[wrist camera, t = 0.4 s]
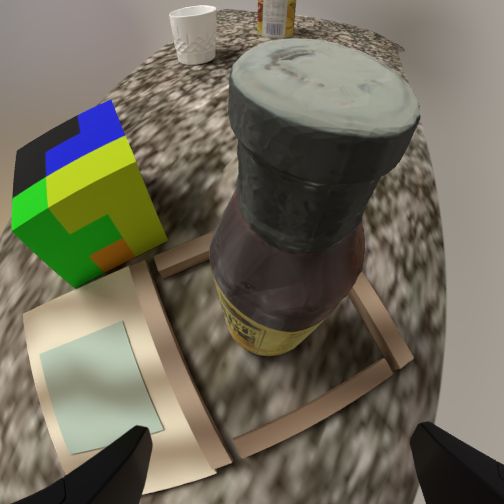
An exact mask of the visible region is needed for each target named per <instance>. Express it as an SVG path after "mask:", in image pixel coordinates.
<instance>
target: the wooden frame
mask: <svg viewBox="0 0 504 504" xmlns="http://www.w3.org/2000/svg"><path fill="white" fill-rule="evenodd" d="M213 233H214V231H213V232H211V233H208V234H206V235H203V236H201V237H198V238H196V239H193V240H191V241H189V242H186V243H184V244H181V245H179V246H176V247H174V248H172V249H169V250H167V251H164V252H162V253H160V254H157V255H155V256H153V257H154V260H155V263H156V266H157V269H158V272H159V273H160V275H161V276H162V278H163V279H164V278H166V277H169V276H171V275H173V274H176V273H178V272H181V271H183V270H185V269H188V268H190V267H193V266H195V265H197V264H200V263H202V262H205V261H207V260H209V248H210V243H211V238H212V236H213ZM348 296H349V298H350V299H351V301H352V303H353V304H354V306H355V308H356V309H357V311H358V313H359V314H360V316H361V318H362V319H363V321H364V323H365V324H366V326H367V328H368V329H369V331H370V333H371V335H372V336H373V338H374V340H375V341H376V343H377V345H378V347H379V348H380V350H381V352H382V354H383V356H384V357H385V358H383V359H380V360H378V361H376V362H374V363H373V364H371V365H370V366H368V367H367V368H365V369H364V370H362V371H361V372H359V373H358V374H356V375H354V376H353V377H351V378H350V379H348V380H346V381H345V382H343V383H342V384H340V385H338V386H337V387H335V388H333V389H332V390H330V391H328V392H326V393H325V394H323V395H321V396H319V397H318V398H316V399H314V400H312V401H310V402H308V403H307V404H305V405H303V406H301V407H299V408H297V409H295V410H293V411H291V412H289V413H287V414H285V415H283V416H281V417H279V418H277V419H275V420H273V421H271V422H269V423H267V424H265V425H263V426H260V427H258V428H256V429H254V430H251V431H249V432H247V433H244V434H242V435H240V436H237V437H235V438H233V443H234V445H235V446H236V448H237V450H238V452H239V454H240V456H241V457H242V459H243V458H245V457H248V456H250V455H252V454H255V453H257V452H259V451H262V450H264V449H266V448H268V447H270V446H273V445H275V444H277V443H279V442H281V441H283V440H285V439H287V438H289V437H291V436H293V435H295V434H297V433H299V432H301V431H303V430H305V429H307V428H309V427H310V426H312V425H314V424H316V423H318V422H320V421H321V420H323V419H325V418H327V417H328V416H330V415H332V414H333V413H335V412H337V411H338V410H340V409H342V408H343V407H345V406H347V405H348V404H350V403H351V402H353V401H355V400H356V399H358V398H359V397H361V396H362V395H364V394H365V393H367V392H368V391H370V390H371V389H373V388H374V387H376V386H377V385H379V384H380V383H381V382H383V381H384V380H386V379H387V378H388V377H390V376H391V375H393V372H392V371H394V370H397V369H401V368H402V367H403V366H405V365H406V364H407V363H408V362H410V361H411V360H412V359H413V358H414V357H413V356H412V354H411V352H410V350H409V348H408V347H407V345H406V343H405V341H404V340H403V338H402V336H401V334H400V333H399V331H398V329H397V327H396V326H395V324H394V322H393V321H392V319H391V317H390V316H389V314H388V312H387V311H386V309H385V307H384V306H383V304H382V302H381V301H380V299H379V298H378V296H377V294H376V293H375V291H374V290H373V288H372V286H371V285H370V283H369V282H368V280H367V279H366V277H365V275H364V274H363V272H361V273H360V275H359V276H358V278H357V280H356V283H355V284H354V285H353V287H352V289H351V290H350V291H349V292H348ZM23 321H24V329H25V335H26V342H27V348H28V353H29V359H30V364H31V368H32V373H33V377H34V382H35V386H36V390H37V394H38V397H39V401H40V405H41V408H42V411H43V415H44V418H45V421H46V424H47V427H48V430H49V433H50V436H51V439H52V441H53V444H54V447H55V449H56V452H57V454H58V457H59V459H60V462H61V464H62V466H63V469H64V471H65V473H66V475H67V474H68V473H70V472H71V471H73V470H74V469H76V468H77V467H79V466H80V465H81V464H83V463H84V462H86V461H87V460H89V459H90V458H91V457H93V456H94V455H96V454H97V453H98V452H100V451H101V450H103V449H104V448H105V447H107V446H108V445H109V444H111V443H112V442H114V441H115V440H116V439H118V438H119V437H120V436H122V435H123V434H124V433H126V432H127V431H128V430H130V429H131V428H132V427H134V426H135V425H140V426H145V427H148V428H149V431H150V435H151V438H152V442H153V449H152V453H151V458H150V463H149V468H148V473H147V478H146V483H145V487H144V490H143V493H142V494H147V493H151V492H156V491H160V490H164V489H168V488H171V487H175V486H179V485H182V484H186V483H189V482H192V481H196V480H199V479H202V478H205V477H208V476H211V475H214V474H217V468H219V467H222V466H225V465H227V464H230V463H232V461H233V457H232V456H231V454H230V452H229V450H228V448H227V446H226V445H225V443H224V441H223V439H222V437H221V435H220V433H219V431H218V429H217V427H216V425H215V423H214V421H213V419H212V417H211V415H210V413H209V411H208V409H207V407H206V405H205V403H204V401H203V399H202V397H201V395H200V392H199V390H198V388H197V386H196V384H195V381H194V379H193V377H192V375H191V373H190V370H189V368H188V366H187V363H186V361H185V359H184V356H183V354H182V352H181V349H180V347H179V344H178V342H177V339H176V337H175V334H174V332H173V329H172V327H171V324H170V322H169V319H168V317H167V314H166V311H165V309H164V306H163V303H162V300H161V298H160V295H159V292H158V289H157V287H156V284H155V281H154V278H153V275H152V272H151V269H150V267H149V265H148V264H147V262H146V261H145V260H143V261H141V262H138V263H136V264H134V265H131V266H128V267H125V268H123V269H121V270H118V271H116V272H114V273H111V274H109V275H107V276H105V277H102V278H100V279H98V280H96V281H93V282H91V283H89V284H87V285H84V286H82V287H80V288H78V289H76V290H73V291H71V292H69V293H67V294H65V295H62V296H60V297H58V298H56V299H54V300H52V301H50V302H47V303H45V304H43V305H41V306H39V307H37V308H35V309H33V310H30V311H28V312H26V313H24V314H23ZM388 364H389V365H388ZM389 366H390V367H389Z"/></svg>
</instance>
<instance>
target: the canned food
mask: <svg viewBox="0 0 504 504" xmlns="http://www.w3.org/2000/svg"><path fill="white" fill-rule="evenodd" d="M295 8H296V0H258V22H257V33H258V34H259V35H261V36H264V37H269V38H289V37H291V36H293V29H294V19H295Z"/></svg>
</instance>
